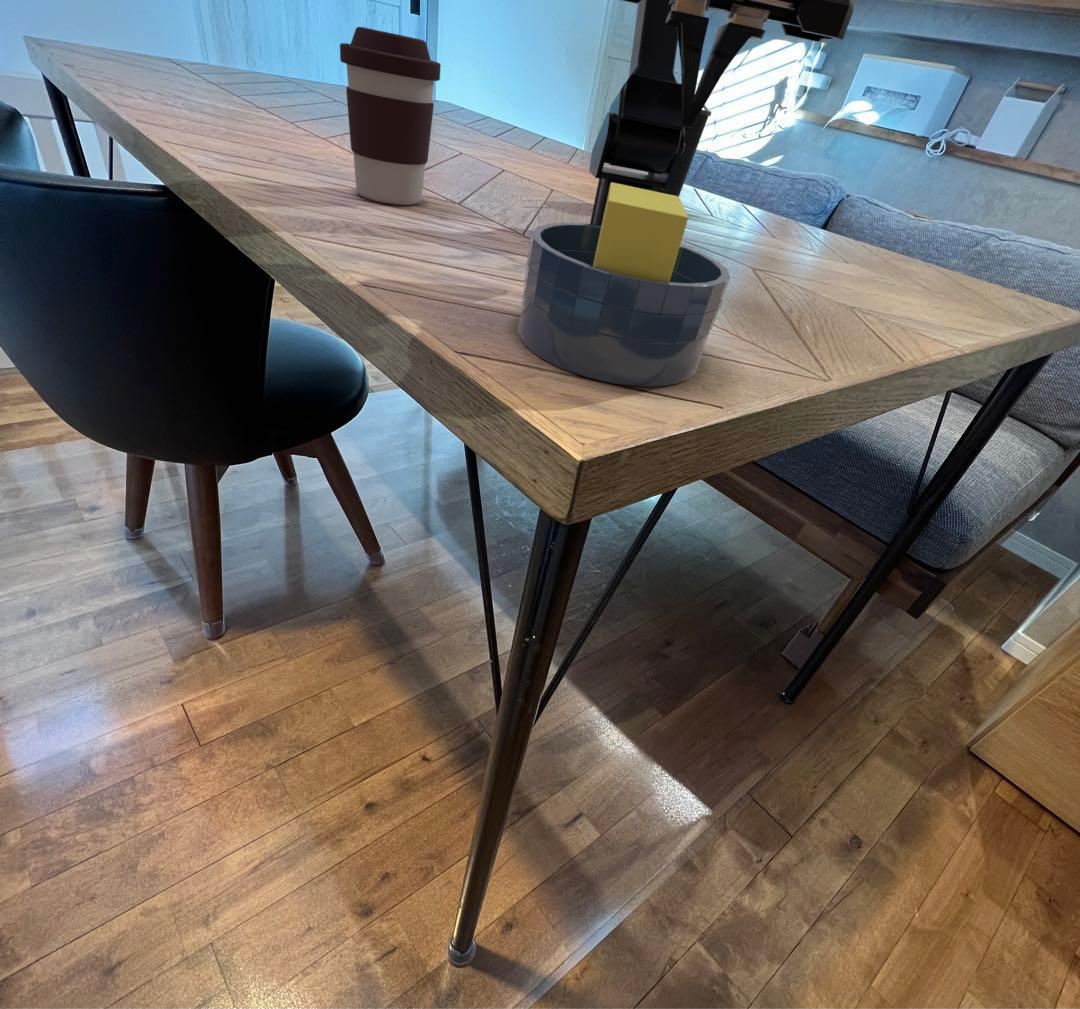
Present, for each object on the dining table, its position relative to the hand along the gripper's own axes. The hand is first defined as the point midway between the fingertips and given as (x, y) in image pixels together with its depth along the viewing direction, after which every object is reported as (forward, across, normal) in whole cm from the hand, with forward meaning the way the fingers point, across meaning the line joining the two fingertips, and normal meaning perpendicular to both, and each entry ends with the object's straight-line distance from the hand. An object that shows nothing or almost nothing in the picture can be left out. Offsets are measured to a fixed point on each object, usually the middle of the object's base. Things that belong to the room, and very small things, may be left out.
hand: (686, 126), depth 50 cm
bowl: (+13, -3, -19) cm, 23 cm away
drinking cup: (+13, +3, +42) cm, 44 cm away
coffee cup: (+13, -30, +12) cm, 35 cm away
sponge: (+10, -3, -21) cm, 23 cm away
